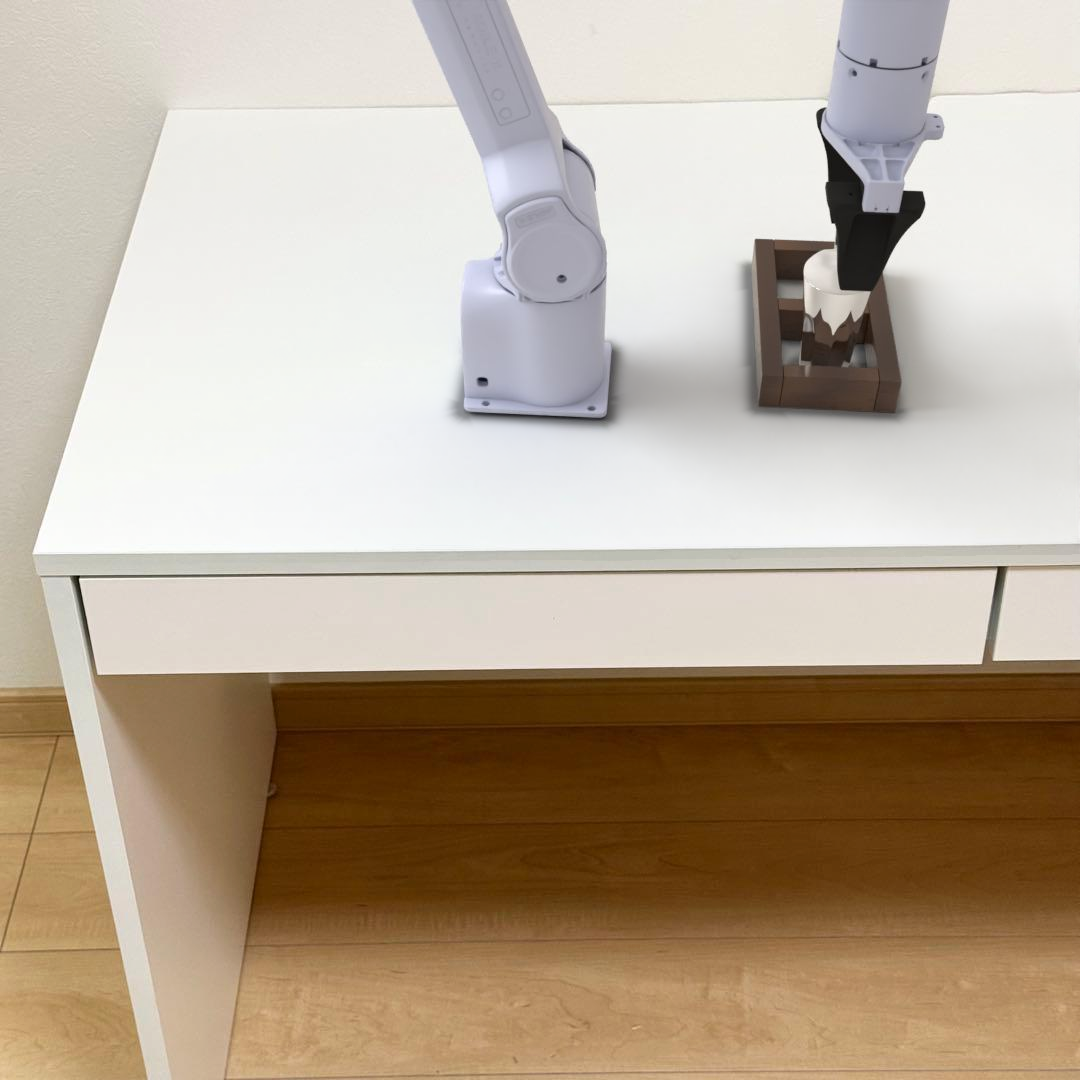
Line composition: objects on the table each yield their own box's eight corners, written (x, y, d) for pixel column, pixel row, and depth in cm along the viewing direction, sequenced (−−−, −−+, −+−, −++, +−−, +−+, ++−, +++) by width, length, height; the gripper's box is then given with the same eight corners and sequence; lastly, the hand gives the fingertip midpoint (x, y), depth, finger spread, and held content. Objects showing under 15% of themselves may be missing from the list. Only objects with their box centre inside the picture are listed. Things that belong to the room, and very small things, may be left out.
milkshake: (852, 347, 95) (876, 221, 88) (858, 394, 91) (883, 267, 84) (787, 343, 95) (805, 218, 88) (789, 390, 92) (809, 263, 85)
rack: (758, 406, 90) (762, 375, 89) (751, 268, 102) (754, 238, 100) (895, 413, 90) (902, 381, 88) (872, 272, 102) (877, 242, 100)
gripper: (977, 110, 72) (928, 322, 81) (942, -4, 82) (902, 196, 91) (842, 106, 72) (809, 317, 82) (825, -7, 82) (797, 193, 92)
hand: (851, 253), depth 87 cm, fingers open, 7 cm apart
